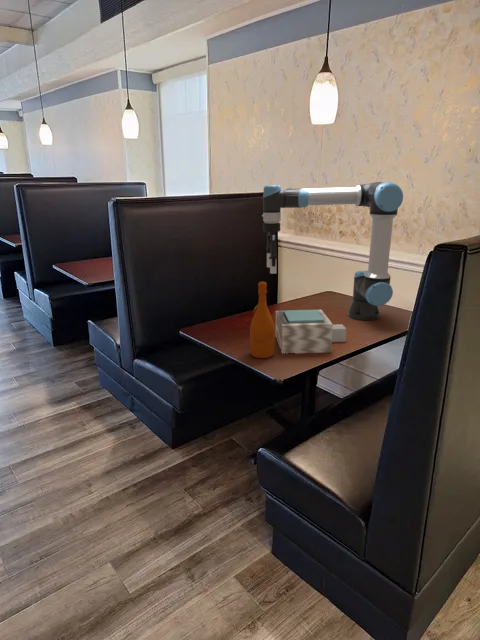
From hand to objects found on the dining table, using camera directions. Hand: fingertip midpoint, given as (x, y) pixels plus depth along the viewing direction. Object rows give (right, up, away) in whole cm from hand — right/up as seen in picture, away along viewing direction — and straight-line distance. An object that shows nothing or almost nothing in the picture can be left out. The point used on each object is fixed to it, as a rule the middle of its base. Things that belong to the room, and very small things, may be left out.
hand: (271, 270), depth 195 cm
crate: (+12, -33, -11) cm, 37 cm away
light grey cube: (+28, -31, -6) cm, 42 cm away
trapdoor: (+12, -21, -15) cm, 29 cm away
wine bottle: (-5, -37, -21) cm, 43 cm away
